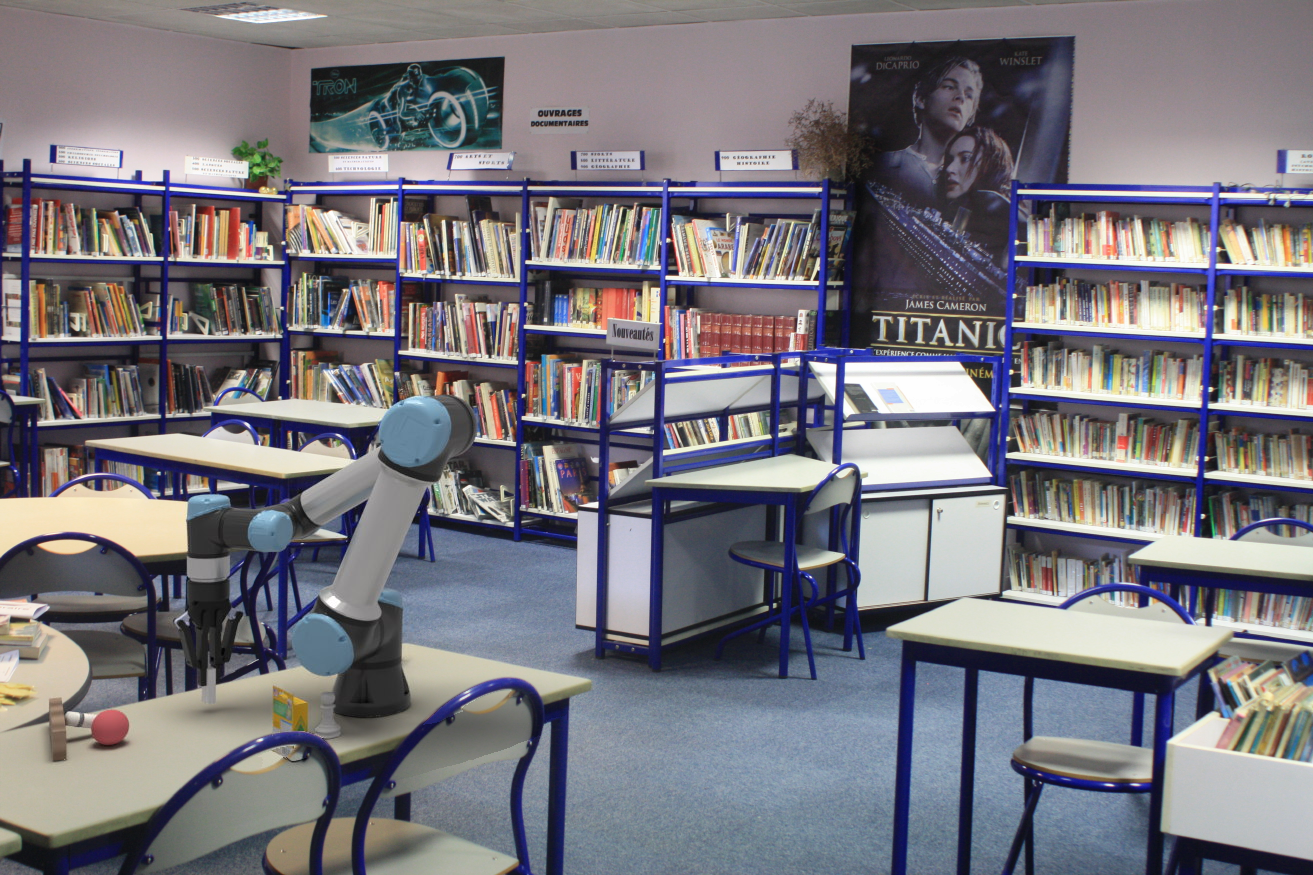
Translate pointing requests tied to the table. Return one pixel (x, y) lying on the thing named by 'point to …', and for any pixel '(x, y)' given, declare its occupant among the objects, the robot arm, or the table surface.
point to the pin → (79, 719)
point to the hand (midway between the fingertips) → (208, 701)
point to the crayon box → (288, 716)
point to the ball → (110, 727)
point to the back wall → (57, 729)
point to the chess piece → (328, 718)
